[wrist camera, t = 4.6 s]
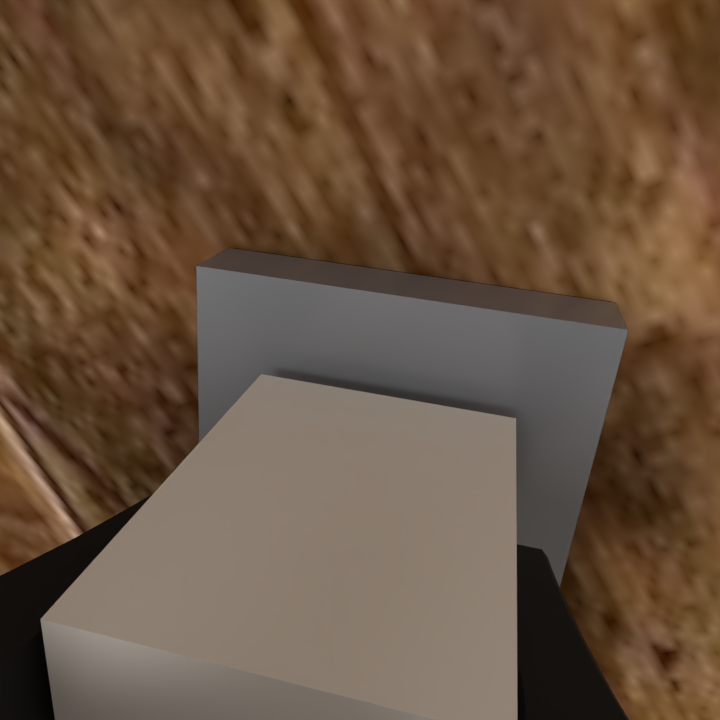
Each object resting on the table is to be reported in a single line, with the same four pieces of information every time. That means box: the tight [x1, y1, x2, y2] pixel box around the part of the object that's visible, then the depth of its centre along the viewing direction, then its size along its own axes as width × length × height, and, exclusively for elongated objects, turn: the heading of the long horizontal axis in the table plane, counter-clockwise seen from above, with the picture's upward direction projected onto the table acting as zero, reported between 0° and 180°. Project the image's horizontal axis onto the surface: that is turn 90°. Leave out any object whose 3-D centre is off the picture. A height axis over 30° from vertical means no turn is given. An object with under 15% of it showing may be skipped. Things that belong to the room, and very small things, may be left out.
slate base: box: [196, 248, 628, 587], centre depth 13 cm, size 8×8×2 cm
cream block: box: [40, 374, 517, 720], centre depth 9 cm, size 4×4×6 cm
